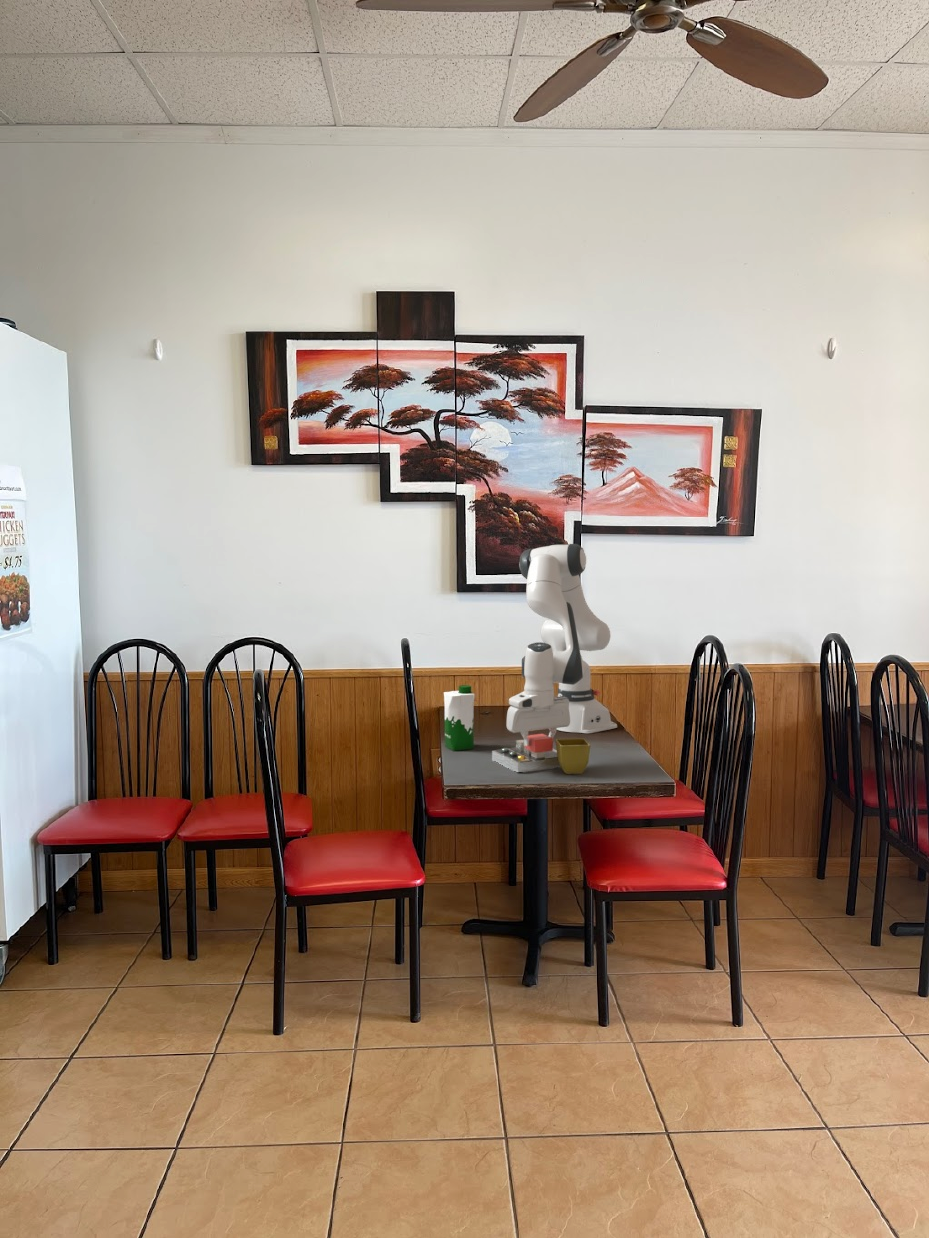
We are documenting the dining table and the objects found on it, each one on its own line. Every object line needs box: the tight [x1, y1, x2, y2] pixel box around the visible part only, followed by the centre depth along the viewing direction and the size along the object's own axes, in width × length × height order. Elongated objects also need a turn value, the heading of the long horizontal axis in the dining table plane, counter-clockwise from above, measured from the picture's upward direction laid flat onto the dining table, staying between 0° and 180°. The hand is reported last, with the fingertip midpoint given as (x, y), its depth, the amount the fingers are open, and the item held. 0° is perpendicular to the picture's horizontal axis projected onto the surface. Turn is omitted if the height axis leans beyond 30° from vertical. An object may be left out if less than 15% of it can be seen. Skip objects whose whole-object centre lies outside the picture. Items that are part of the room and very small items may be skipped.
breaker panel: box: [491, 739, 561, 773], centre depth 276 cm, size 18×16×6 cm
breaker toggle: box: [531, 751, 545, 758], centre depth 271 cm, size 3×3×2 cm
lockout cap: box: [525, 733, 554, 753], centre depth 271 cm, size 6×6×4 cm
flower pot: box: [555, 738, 591, 775], centre depth 266 cm, size 9×9×9 cm
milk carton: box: [443, 684, 476, 752], centre depth 294 cm, size 9×9×20 cm
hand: (538, 744), depth 271 cm, fingers closed on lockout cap, 6 cm apart
